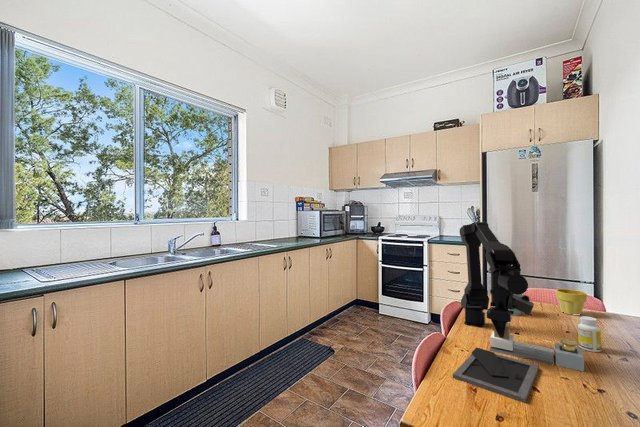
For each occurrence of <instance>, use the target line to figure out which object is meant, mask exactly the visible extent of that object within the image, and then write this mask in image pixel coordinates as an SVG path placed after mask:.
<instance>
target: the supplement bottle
mask: <svg viewBox="0 0 640 427" xmlns="http://www.w3.org/2000/svg"><path fill="white" fill-rule="evenodd" d="M579 317H580V322H579V323H578V324H577V336H578V338H577V339H578V347H581V350H585V351H588V352H593V353H601V351H602V336H601V334H602V333H601V331H602V330H601V328H600V326H598V319H596V318H595V317H591V316H583V315H582V316H579Z"/></svg>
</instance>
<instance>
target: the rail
mask: <svg viewBox="0 0 640 427" xmlns="http://www.w3.org/2000/svg"><path fill="white" fill-rule="evenodd" d="M489 351H490V352H494V353H495V352H496V353H500V354H504V355H509V356H513V357H518V358H523V359H527V360H530V361H535V362H538V363H539V362H540V363H544V364H549V365H553V366H554V365H555V360H554V357H555V356H554V355H555V354H554V348H550V347H545V346H540V345H536V344H531V343H525V342H522V341H521V342H520V341H517V340H514V341H513V351H510V350H505V349H501V348H496V347H492V346H491V345H490V348H489Z"/></svg>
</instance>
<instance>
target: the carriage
mask: <svg viewBox="0 0 640 427" xmlns="http://www.w3.org/2000/svg"><path fill="white" fill-rule="evenodd" d="M489 339H490V341H489V342H490V347H491V346H492V347H496V348H501V349H505V350H510V351H513V341H515V335H514V334H511V322H507V323H506V327H505V332H504V337H503V338H501V337H499V335H498V333H497V331H496V329H495V327H494V326H493V331H492V332H491V334H490V338H489Z"/></svg>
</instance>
